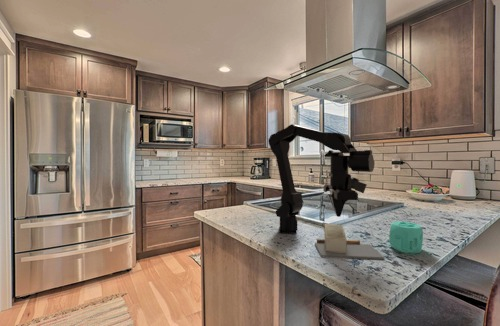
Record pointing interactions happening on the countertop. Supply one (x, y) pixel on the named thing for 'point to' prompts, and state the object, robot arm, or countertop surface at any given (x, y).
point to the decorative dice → (406, 237)
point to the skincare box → (335, 238)
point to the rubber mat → (351, 252)
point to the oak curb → (347, 241)
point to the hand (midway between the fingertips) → (338, 216)
